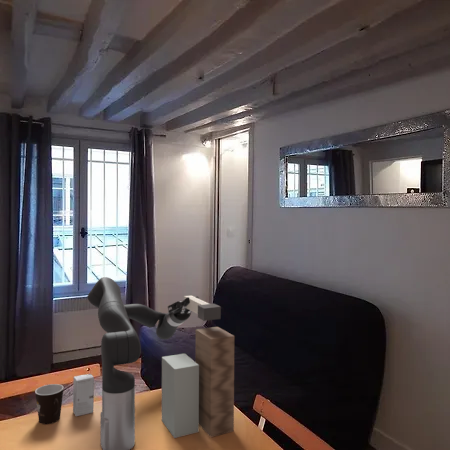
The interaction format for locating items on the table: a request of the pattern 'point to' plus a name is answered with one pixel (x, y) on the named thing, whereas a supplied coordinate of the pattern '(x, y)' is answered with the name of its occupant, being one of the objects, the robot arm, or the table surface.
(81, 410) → the skincare box
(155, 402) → the table surface
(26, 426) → the table surface
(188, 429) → the pale green block
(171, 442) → the table surface
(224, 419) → the brown tall block
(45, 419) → the coffee mug
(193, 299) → the bar
